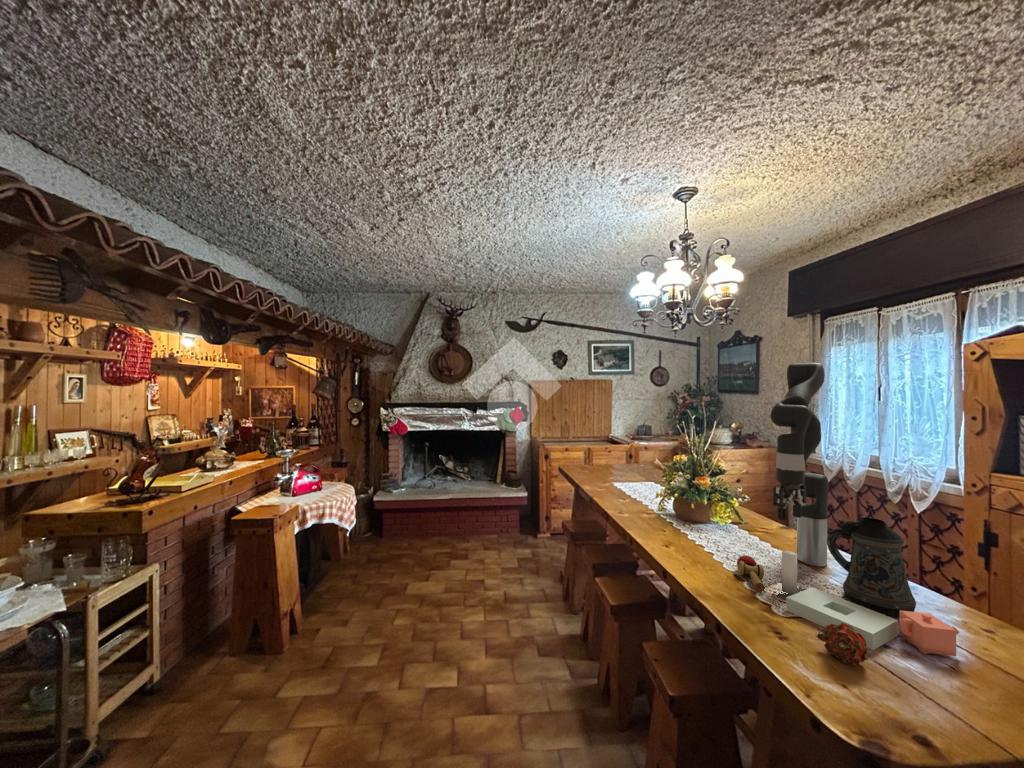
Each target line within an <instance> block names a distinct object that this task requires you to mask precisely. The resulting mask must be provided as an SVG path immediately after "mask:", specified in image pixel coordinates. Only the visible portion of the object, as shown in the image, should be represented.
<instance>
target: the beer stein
mask: <svg viewBox="0 0 1024 768" xmlns="http://www.w3.org/2000/svg"><path fill="white" fill-rule="evenodd" d="M840 538H841V539H845V540H851V541H852V546H851V547H852V548H851V553H850V560H849V561H848V560H847V559H846V558H845V557H844V556H843V555H842V553H841V552H840V550H839V548H838V547H837V543H836V542H837V540H838V539H840ZM904 541H905V540H904V539H903V538H902V536H901V535H900V534H899V533H897V532H896V531H895V530H893V529H892V528H891V527H890V526H888V525H887V524H886V523H885V521H884V520H882V519H878V518H873V517H872V518H871V517H862V518H861V520H857V521H850V520H847V521H843V522H842V523H841V527H840V528H839V527H837V528H833V529H830V530H829V531H828V534H827V550H828V551H829V553H830V554H831V556H832V557H833V559H834V560H835V561H836V562H837V563H838V564H839V565H840V567H841V568H843V569H844V570H845V571H846V572H847V576H846V578H845V580H844V581H843V584H842V589H843V593H844V595H845V598H846V599H847V601H849V602H852V603H854V604H857V605H860V606H862V607H865V608H867V609H870V610H873V611H875V612H878V613H880V614H883V615H886V616H888V617H891V618H893V619H895V618H897V619H899V618H900V610H901V611H910V612H915V610H916V606H917V600H916V598H915V597H914V595H913V593H912V589H911V587H910V583H909V581H908V576H907V573H906V567H905V562H904V559H903V558H904V557H903V553H902V548H903V546H904V543H905V542H904Z"/></svg>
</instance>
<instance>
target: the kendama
mask: <svg viewBox="0 0 1024 768" xmlns="http://www.w3.org/2000/svg"><path fill="white" fill-rule="evenodd" d="M736 564H737V573H738V575H740V576H744V575H749V577H750V579H751V582H752V585H753V588H754V590H755V591H757V592H759V593H761V592H765V591H764V589H765V587H766V586H765V584H764V583H763V582H762V580H763V579H764V575H765V570H764V569H765V568H764V566H763V564H757V562H756V560H755V559H754V558H753V557H752V556H751V555H750V556H749V555H744V554H743V555H741V556H739V557H738V559H737V561H736Z"/></svg>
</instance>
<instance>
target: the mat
mask: <svg viewBox="0 0 1024 768" xmlns="http://www.w3.org/2000/svg"><path fill="white" fill-rule="evenodd" d="M799 586H800V585H799ZM801 587H802V586H800V587H799V589H798V588H797V593H799V592H800V591H804V590H807V589H808V588H805V587H804V588H805V589H802V588H801ZM781 593H782V592H781ZM784 594H785V595H784ZM784 594H780V593H779V594H778V595H776V596H775V597H777V598H780V599H782V600H784V601H786V597H788V596H791V595H794V594H786V593H784Z"/></svg>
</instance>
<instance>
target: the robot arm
mask: <svg viewBox="0 0 1024 768" xmlns="http://www.w3.org/2000/svg"><path fill="white" fill-rule="evenodd" d="M825 377H826V376H825V368H824V366H823V365H822V364H821V363H818V362H801V363H800V362H797V363H790V364H788V366H787V369H786V379H787V380H786V382H787V387H788V388H787V389H788V390H787V392H786V394H785V396H784V398H783V399H781V400H780V401H779V402H777V403H775V405H774V406H773V407H772V409H771V411H770V419H771V422H772V423H773V424H774V425H776V426H778V427H787V428H788V427H789V428H790V433H783V434H779V435H778V436H777V440H776V441H777V442H776V445H777V447H776V457H775V458H776V459H775V480H776V481H777V482H779V483H780V484H779V485H780V486H774V487H773V492H772V494H773V495H772V496H773V497H772V506H773V507H776V508H777V520H778V521H782V522H786V521H787V511H788V510H787V508H788V505H790V504H791V503H793V505H792V516H793V517H795V518H796V554H797V559H798V560H800V561H802V562H804V563H803V564H805V563H806V564H805V565H808V564H809V566H811V567H812V566H814V567H820V568H822V567H826V566H828V545H827V537H828V502H829V501H828V500H829V487H830V485H829V484H830V483H829V479H828V476H826V475H824V474H821V473H814V472H808V471H807V472H805V468H806V466H805V464H806V462H807V460H808V459H809V458H810V456H811V455H812V454H813V453H814V451H815V450H817V448H818V447H819V445H820V443H821V441H822V427H821V425H822V424H821V421H820V419H819V418H818V417H817V415H816V414H815V413H814V411H813V410H812V409H811V408H810V407H809V405H810V402H811V399H812V398H813V396H814V395H815V394H817V393H818V391H819V390H820V389H821V388H822V386H823V384H824V382H825ZM807 498H811V499H815V501H814V502H813V503H809V504H806V503H807ZM798 560H797V561H798ZM800 561H799V562H800ZM802 562H801V563H802Z"/></svg>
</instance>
